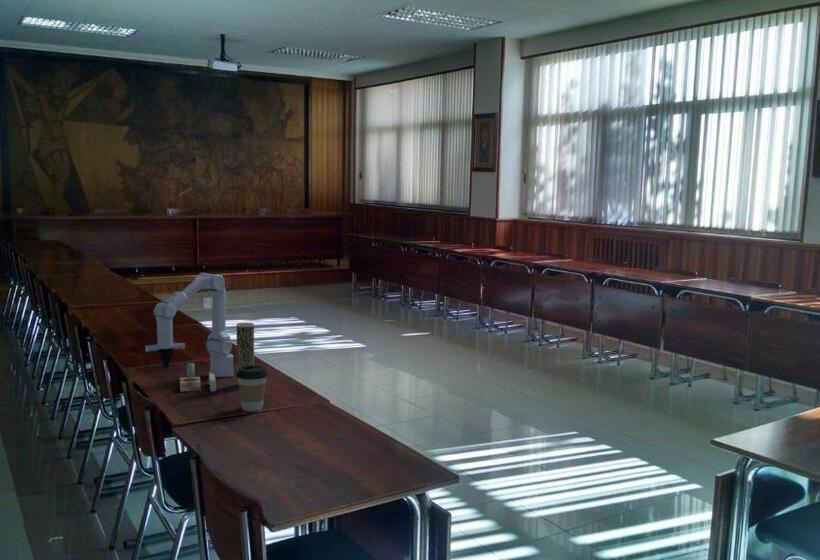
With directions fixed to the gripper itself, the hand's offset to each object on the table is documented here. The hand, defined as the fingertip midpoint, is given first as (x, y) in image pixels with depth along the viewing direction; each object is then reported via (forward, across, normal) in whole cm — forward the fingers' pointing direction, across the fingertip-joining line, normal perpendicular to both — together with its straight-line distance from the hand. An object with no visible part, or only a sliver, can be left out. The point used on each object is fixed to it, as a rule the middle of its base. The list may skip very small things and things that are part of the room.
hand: (165, 367), depth 290 cm
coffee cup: (+9, -24, +37) cm, 44 cm away
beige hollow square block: (+9, -9, +2) cm, 13 cm away
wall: (+9, -17, +3) cm, 20 cm away
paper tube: (+9, -30, +5) cm, 32 cm away
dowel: (+9, -11, -6) cm, 15 cm away
